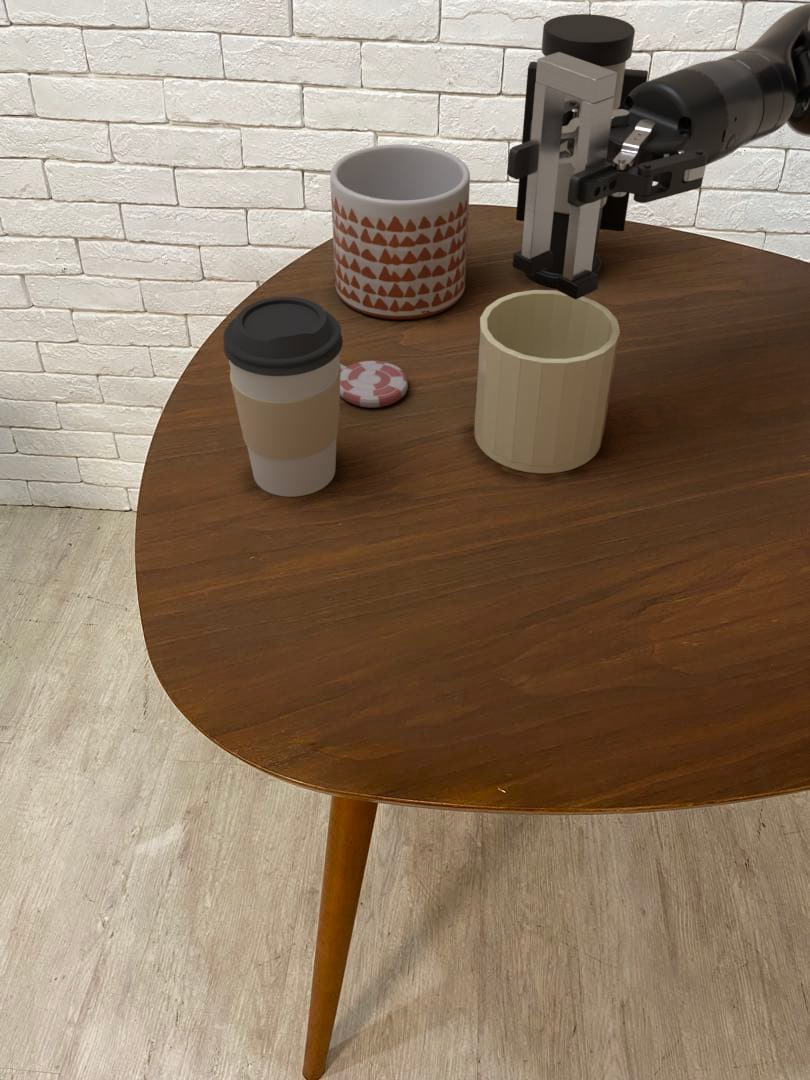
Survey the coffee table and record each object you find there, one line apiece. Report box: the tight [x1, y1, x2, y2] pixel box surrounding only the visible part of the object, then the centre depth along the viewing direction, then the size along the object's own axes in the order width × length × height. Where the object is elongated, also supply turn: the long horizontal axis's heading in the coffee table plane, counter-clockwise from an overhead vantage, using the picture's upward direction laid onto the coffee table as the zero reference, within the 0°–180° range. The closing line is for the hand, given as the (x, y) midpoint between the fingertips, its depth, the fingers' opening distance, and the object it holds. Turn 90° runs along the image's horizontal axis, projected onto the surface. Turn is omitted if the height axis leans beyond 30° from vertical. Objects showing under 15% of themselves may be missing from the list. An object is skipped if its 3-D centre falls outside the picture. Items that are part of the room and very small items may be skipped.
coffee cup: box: [222, 296, 344, 498], centre depth 83 cm, size 9×9×15 cm
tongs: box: [512, 52, 617, 300], centre depth 77 cm, size 7×2×16 cm, turn 40°
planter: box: [329, 143, 471, 321], centre depth 107 cm, size 14×14×13 cm
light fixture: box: [515, 13, 649, 289], centre depth 107 cm, size 12×11×25 cm
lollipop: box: [339, 360, 409, 409], centre depth 99 cm, size 7×1×15 cm
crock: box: [473, 289, 621, 474], centre depth 89 cm, size 11×11×11 cm
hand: (542, 178), depth 75 cm, fingers closed on tongs, 5 cm apart
